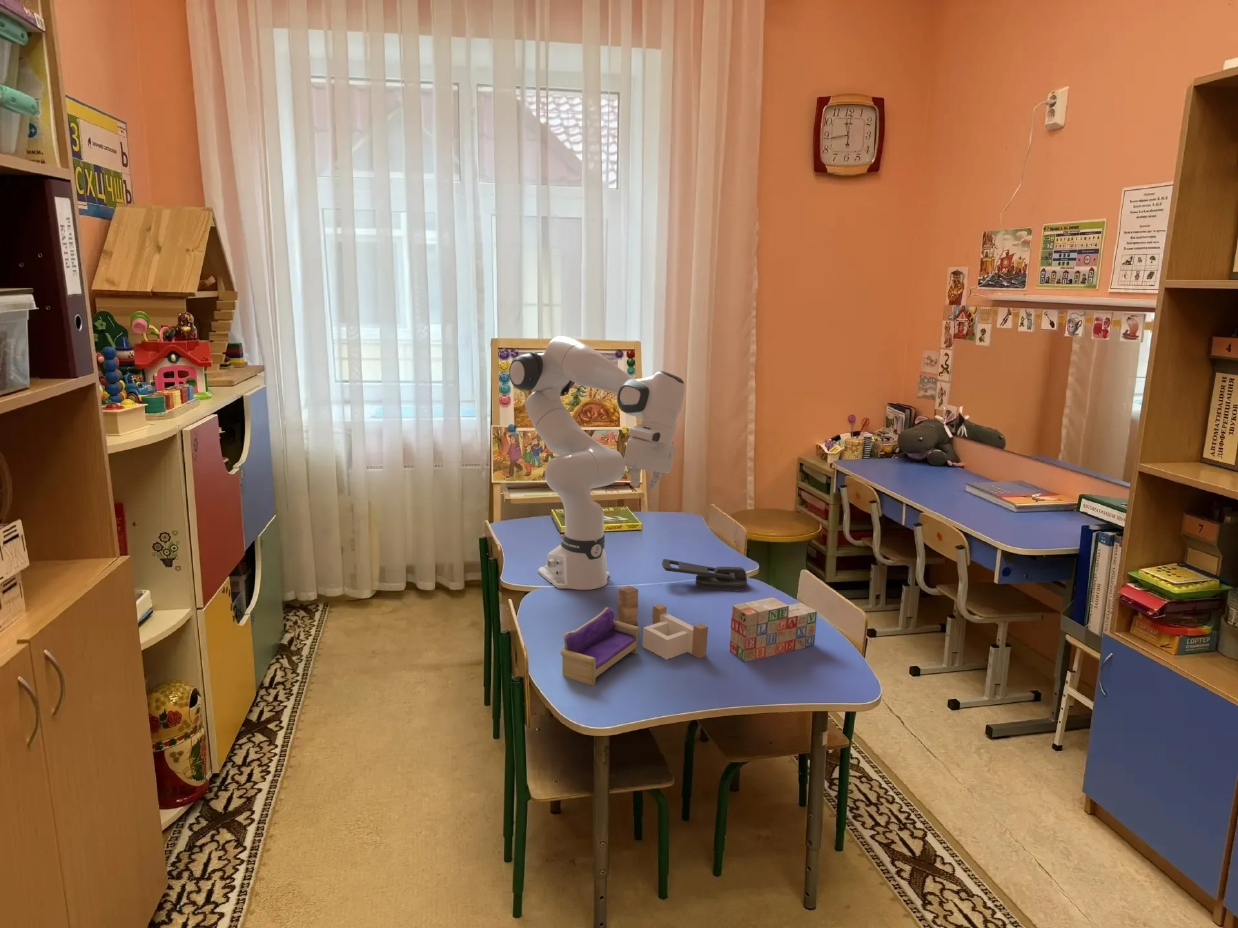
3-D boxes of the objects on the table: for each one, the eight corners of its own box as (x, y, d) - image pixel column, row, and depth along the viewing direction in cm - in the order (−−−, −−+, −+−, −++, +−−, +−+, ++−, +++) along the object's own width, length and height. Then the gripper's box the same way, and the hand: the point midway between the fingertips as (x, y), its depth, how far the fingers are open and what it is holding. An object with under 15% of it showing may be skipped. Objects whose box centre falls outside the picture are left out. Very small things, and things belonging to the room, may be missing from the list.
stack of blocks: (798, 636, 211) (802, 590, 208) (814, 646, 206) (819, 599, 203) (728, 651, 201) (732, 604, 198) (744, 662, 196) (747, 613, 193)
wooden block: (616, 628, 212) (617, 588, 209) (627, 625, 214) (629, 585, 211) (626, 634, 209) (627, 593, 206) (637, 630, 211) (639, 589, 209)
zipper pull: (660, 557, 246) (744, 558, 247) (659, 578, 248) (743, 579, 249) (663, 568, 237) (750, 569, 239) (662, 589, 239) (748, 591, 240)
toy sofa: (592, 688, 182) (593, 644, 179) (559, 677, 186) (560, 634, 184) (639, 652, 199) (641, 613, 197) (608, 643, 203) (610, 604, 201)
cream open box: (631, 640, 205) (632, 612, 203) (658, 631, 211) (660, 603, 209) (678, 666, 193) (680, 636, 191) (706, 655, 198) (707, 626, 197)
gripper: (664, 437, 223) (651, 486, 224) (626, 427, 205) (612, 481, 206) (684, 442, 220) (671, 492, 221) (648, 433, 202) (634, 488, 203)
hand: (642, 487), depth 213 cm, fingers open, 8 cm apart
